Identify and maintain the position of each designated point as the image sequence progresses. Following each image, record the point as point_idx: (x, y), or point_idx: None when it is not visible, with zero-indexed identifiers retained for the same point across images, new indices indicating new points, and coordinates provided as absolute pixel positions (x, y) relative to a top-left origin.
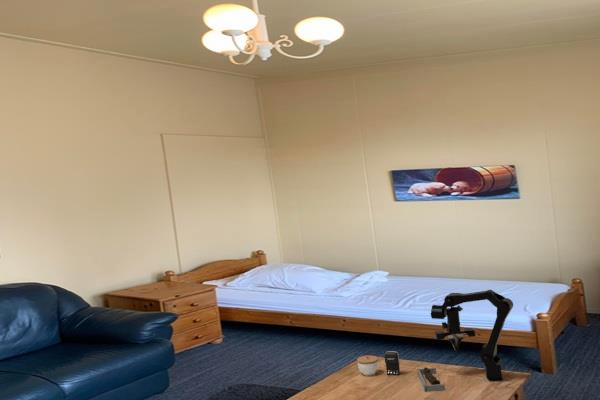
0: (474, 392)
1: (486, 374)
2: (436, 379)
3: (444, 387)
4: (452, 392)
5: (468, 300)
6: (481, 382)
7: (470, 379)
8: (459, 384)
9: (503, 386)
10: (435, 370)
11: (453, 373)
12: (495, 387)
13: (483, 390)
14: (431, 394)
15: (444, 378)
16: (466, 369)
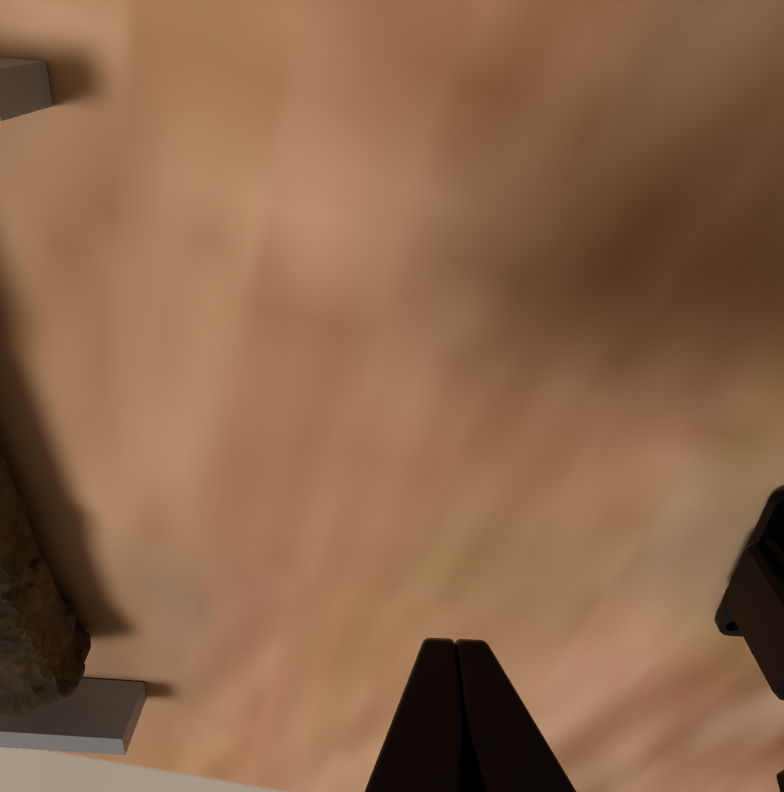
0: None
1: (748, 630)
2: (20, 667)
3: (134, 725)
4: (216, 748)
5: None
6: (609, 619)
7: (530, 511)
8: (338, 610)
9: (756, 743)
10: (12, 111)
11: (373, 205)
12: (669, 745)
13: None
14: None
15: (182, 386)
16: (695, 44)
